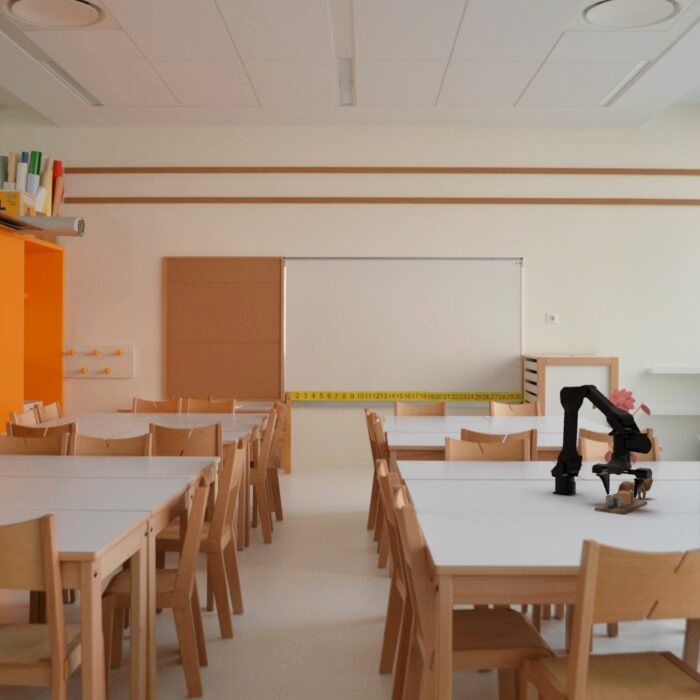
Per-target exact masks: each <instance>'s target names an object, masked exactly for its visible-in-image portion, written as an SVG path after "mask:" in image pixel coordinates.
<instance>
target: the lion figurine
mask: <svg viewBox="0 0 700 700" xmlns="http://www.w3.org/2000/svg"><path fill="white" fill-rule="evenodd" d="M653 482H654V480H653V476H652V477H650V478H648V479H647V480H644V482H643V484H642V485H641V488H640V490H639V492H638V495H637V500H642V501H645V500H646V501H647V502H648V498H646V496H647V492H649V491H651V487H652V486H653ZM634 485H635V482H634V481H630V480H625V481H624V480H623V481H622V482H621V483H620V484H619V485H618V489H617V493H618V492H619V491H621V490H626V491H629V490H634Z"/></svg>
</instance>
